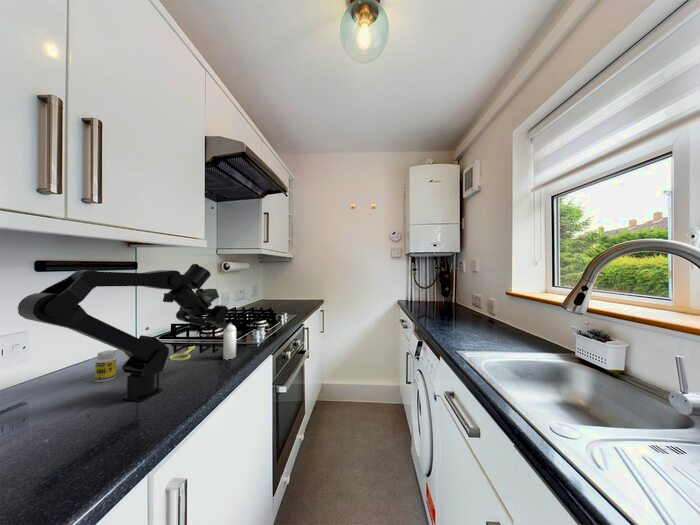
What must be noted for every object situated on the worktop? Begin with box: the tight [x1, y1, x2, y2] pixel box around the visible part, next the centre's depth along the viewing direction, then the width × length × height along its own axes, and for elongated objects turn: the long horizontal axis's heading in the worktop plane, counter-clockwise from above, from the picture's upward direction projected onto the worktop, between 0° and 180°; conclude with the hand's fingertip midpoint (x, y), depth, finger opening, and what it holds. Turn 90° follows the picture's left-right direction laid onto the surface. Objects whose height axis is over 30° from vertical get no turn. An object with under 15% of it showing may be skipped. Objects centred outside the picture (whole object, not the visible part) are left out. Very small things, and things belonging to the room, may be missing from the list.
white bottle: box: [222, 322, 237, 361], centre depth 99 cm, size 4×4×13 cm
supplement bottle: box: [94, 349, 117, 383], centre depth 80 cm, size 5×5×8 cm
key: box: [168, 345, 196, 361], centre depth 102 cm, size 7×12×2 cm, turn 21°
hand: (216, 326), depth 93 cm, fingers open, 9 cm apart
